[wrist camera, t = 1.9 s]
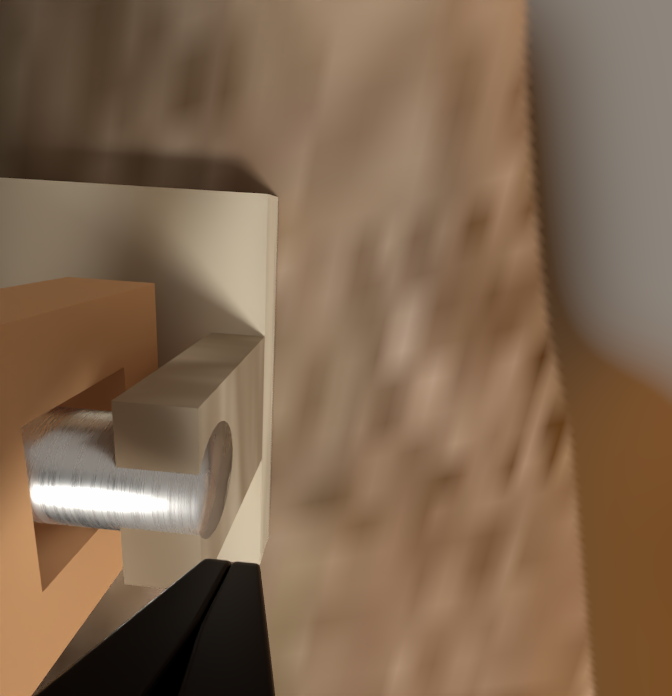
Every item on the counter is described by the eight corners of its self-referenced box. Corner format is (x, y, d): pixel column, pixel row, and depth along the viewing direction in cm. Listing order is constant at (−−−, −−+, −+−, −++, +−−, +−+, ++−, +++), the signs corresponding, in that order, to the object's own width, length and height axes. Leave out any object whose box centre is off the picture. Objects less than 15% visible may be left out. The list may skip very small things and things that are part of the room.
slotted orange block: (154, 283, 12) (-160, 367, 5) (163, 510, 14) (-57, 818, 7) (68, 276, 12) (-364, 350, 5) (88, 503, 14) (-208, 797, 7)
